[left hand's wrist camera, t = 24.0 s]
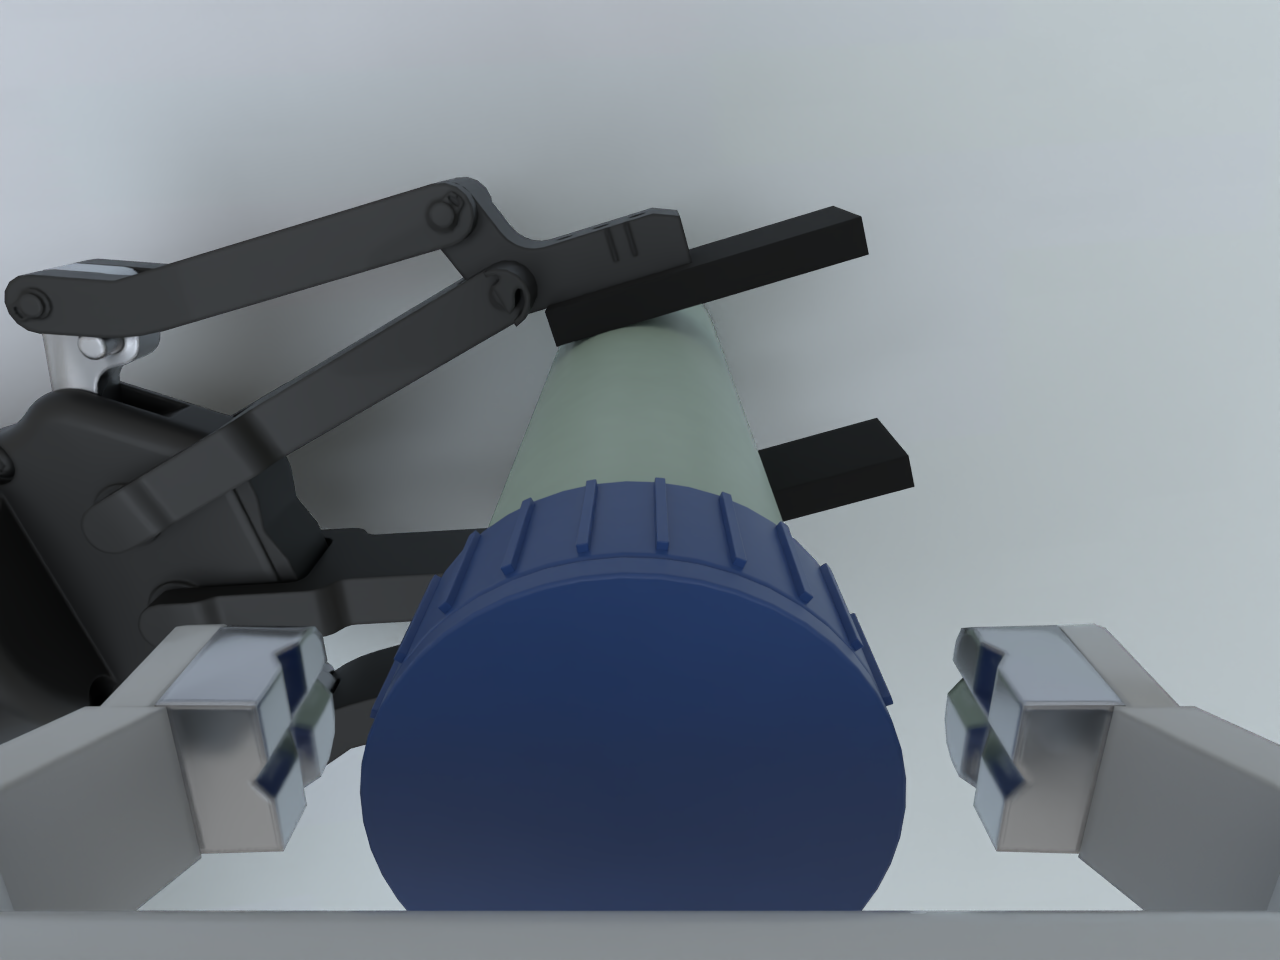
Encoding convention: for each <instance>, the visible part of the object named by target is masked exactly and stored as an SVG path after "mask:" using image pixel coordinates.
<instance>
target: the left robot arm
mask: <svg viewBox="0 0 1280 960" xmlns="http://www.w3.org/2000/svg"><path fill="white" fill-rule="evenodd" d="M326 661H327V656H326V651H325V646H324V641H323V635H322V634H321V633H320V632H319V630H318V629H317V628H316V627H315V626H266V625H228V626H227V625H225V624H202V625H183V626H178V627H175V628H174V629H173V630H172V631H171V632H170V634H169V635H168V636H167V637H166V638H165V639H164V640H163V641H162V642H161V643H160V644H159V645H158V646H157V647H156V648H155V649H154V650H153V651H152V652H151V653H150V655H149V656H148V657H147V658H146V659H145V660H144V661H143V662H142V663H141V664H140V665H139V666H138V667H137V668H136V669H135V670H134V671H133V672H132V673H131V674H130V676H129V677H128V678H127V679H126V680H125V681H124V682H123V683H122V684H121V685H120V686H119V687H118V688H117V689H116V690H115V691H114V692H113V693H112V694H111V695H110V697H109V698H108V699H107V700H106V701H105V702H104V703H103V704H102V705H101V706H88V707H83V708H81V709H79V710H76V711H74V712H72V713H70V714H68V715H65V716H63V717H61V718H59V719H57V720H54V721H52V722H50V723H48V724H45V725H43V726H41V727H39V728H37V729H34V730H32V731H30V732H28V733H26V734H23V735H21V736H19V737H17V738H14V739H12V740H10V741H8V742H6V743H3V744H1V745H0V960H1280V745H1279V744H1276V743H1274V742H1272V741H1270V740H1268V739H1265V738H1263V737H1261V736H1259V735H1257V734H1254V733H1252V732H1250V731H1248V730H1245V729H1243V728H1241V727H1239V726H1237V725H1234V724H1232V723H1230V722H1228V721H1226V720H1223V719H1221V718H1219V717H1217V716H1215V715H1212V714H1210V713H1208V712H1206V711H1204V710H1201V709H1199V708H1197V707H1193V706H1179V705H1178V704H1177V703H1176V702H1175V701H1174V700H1173V699H1172V698H1171V696H1170V695H1169V694H1168V693H1167V692H1166V691H1165V690H1164V689H1163V688H1162V687H1161V686H1160V685H1159V684H1158V683H1157V682H1156V681H1155V680H1154V679H1153V678H1152V676H1151V675H1150V674H1149V673H1148V672H1147V671H1146V670H1145V669H1144V668H1143V667H1142V666H1141V665H1140V664H1139V663H1138V662H1137V661H1136V660H1135V659H1134V658H1133V656H1132V655H1131V654H1130V653H1129V652H1128V651H1127V650H1126V649H1125V648H1124V647H1123V646H1122V645H1121V644H1120V643H1119V642H1118V641H1117V640H1116V639H1115V638H1114V636H1113V635H1112V634H1111V633H1110V632H1109V631H1108V630H1107V629H1106V628H1104V627H1102V626H1099V625H1096V624H1076V625H1044V626H1004V627H969V628H961V631H960V633H959V635H958V637H957V640H956V644H955V650H954V656H953V661H954V663H955V665H956V667H957V668H958V670H959V672H960V674H961V675H962V677H963V678H962V679H961V680H960V681H959V682H958V683H957V684H956V685H955V686H954V688H953V689H952V690H951V691H950V692H949V693H948V695H947V703H946V712H945V729H946V741H947V746H948V750H949V753H950V757H951V760H952V763H953V765H954V767H955V769H956V771H957V773H958V775H959V777H961V778H962V779H963V780H965V781H966V782H968V783H969V784H971V785H972V786H974V787H975V788H976V792H975V799H974V805H973V806H974V808H975V810H976V812H977V814H978V816H979V818H980V819H981V821H982V823H983V825H984V827H985V829H986V831H987V833H988V835H989V837H990V839H991V841H992V843H993V845H994V847H995V849H996V851H1004V852H1040V853H1077V854H1079V858H1080V859H1081V860H1082V861H1084V862H1085V863H1086V864H1087V865H1089V866H1090V867H1091V868H1092V869H1094V870H1095V871H1096V872H1097V873H1099V874H1100V875H1101V876H1102V877H1104V878H1105V879H1106V880H1107V881H1108V882H1110V883H1111V884H1112V885H1113V886H1115V887H1116V888H1117V889H1118V890H1120V891H1121V892H1122V893H1123V894H1125V895H1126V896H1127V897H1128V898H1130V899H1131V900H1132V901H1133V902H1134V903H1136V904H1137V905H1138V906H1139V907H1141V908H1142V909H1143V910H1144V911H136V910H137V909H138V908H140V907H141V906H142V905H143V904H145V903H146V902H147V901H148V900H150V899H151V898H152V897H153V896H155V895H156V894H157V893H158V892H159V891H161V890H162V889H163V888H164V887H166V886H167V885H168V884H169V883H171V882H172V881H173V880H174V879H176V878H177V877H178V876H179V875H181V874H182V873H183V872H184V871H186V870H187V869H188V868H189V867H190V866H192V865H193V864H194V863H195V862H197V861H198V860H199V859H200V858H201V854H203V853H238V852H274V851H284V849H285V847H286V845H287V843H288V841H289V839H290V837H291V835H292V833H293V831H294V829H295V827H296V826H297V824H298V822H299V820H300V818H301V816H302V814H303V812H304V810H305V808H306V806H307V805H306V799H305V792H304V788H305V787H306V786H308V785H309V784H311V783H312V782H314V781H315V780H317V779H318V778H319V777H321V775H322V773H323V771H324V769H325V767H326V765H327V762H328V760H329V758H330V753H331V749H332V744H333V739H334V734H335V709H334V702H333V695H332V693H331V692H330V691H329V690H328V689H327V688H326V686H325V685H324V684H323V683H322V682H321V681H320V680H319V679H318V678H317V677H318V675H319V674H320V672H321V670H322V668H323V667H324V665H325V663H326Z"/></svg>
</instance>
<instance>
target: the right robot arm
mask: <svg viewBox="0 0 1280 960" xmlns="http://www.w3.org/2000/svg"><path fill="white" fill-rule="evenodd" d="M439 249H441V250H442V251H443V253H444V254H445V255H446V256H447V258H448V259H449V260H450V261H451V262H452V264H453V265H454V266H455V267H456V269H457V270H458V271H459V272H460V274H461V275H462V276H463V277H464V278H462V279H460V280H459V281H457V282H455V283H454V284H452V285H450V286H449V287H447V288H445V289H444V290H442V291H440V292H439V293H437V294H435V295H434V296H432V297H430V298H429V299H427V300H425V301H424V302H422V303H420V304H419V305H417V306H415V307H414V308H412V309H410V310H409V311H407V312H405V313H404V314H402V315H400V316H399V317H397V318H395V319H394V320H392V321H390V322H389V323H387V324H385V325H384V326H382V327H380V328H379V329H377V330H375V331H374V332H372V333H370V334H369V335H367V336H365V337H364V338H362V339H360V340H359V341H357V342H355V343H354V344H352V345H350V346H349V347H347V348H345V349H344V350H342V351H340V352H339V353H337V354H335V355H334V356H332V357H330V358H328V359H327V360H325V361H323V362H322V363H320V364H318V365H317V366H315V367H313V368H312V369H310V370H308V371H307V372H305V373H303V374H302V375H300V376H298V377H297V378H295V379H293V380H292V381H290V382H288V383H286V384H284V385H282V386H280V387H279V388H277V389H275V390H274V391H272V392H270V393H269V394H267V395H265V396H264V397H262V398H260V399H259V400H257V401H255V402H254V403H252V404H250V405H249V406H247V407H245V408H244V409H242V410H240V411H239V412H237V413H235V414H234V415H232V416H229V415H226V414H223V413H219V412H216V411H213V410H210V409H207V408H204V407H200V406H197V405H194V404H191V403H188V402H185V401H181V400H178V399H175V398H172V397H169V396H166V395H162V394H159V393H156V392H153V391H150V390H147V389H143V388H140V387H137V386H134V385H131V384H128V383H125V382H121V381H120V371H121V368H122V366H123V365H126V364H128V363H130V362H132V361H135V360H137V359H139V358H141V357H144V356H146V355H148V354H150V353H151V352H153V351H154V350H155V349H156V348H157V346H158V344H159V341H160V332H162V331H165V330H169V329H172V328H175V327H179V326H182V325H186V324H189V323H192V322H196V321H199V320H202V319H206V318H209V317H213V316H216V315H219V314H223V313H226V312H229V311H233V310H236V309H240V308H243V307H246V306H250V305H253V304H256V303H260V302H263V301H267V300H270V299H273V298H277V297H280V296H283V295H287V294H290V293H294V292H297V291H300V290H304V289H307V288H310V287H314V286H317V285H321V284H324V283H327V282H331V281H334V280H337V279H341V278H344V277H348V276H351V275H354V274H358V273H361V272H364V271H368V270H371V269H375V268H378V267H381V266H385V265H388V264H391V263H395V262H398V261H402V260H405V259H408V258H412V257H415V256H419V255H422V254H425V253H429V252H432V251H435V250H439ZM868 254H869V253H868V248H867V243H866V238H865V233H864V228H863V222H862V217H861V216H859V215H856V214H853V213H851V212H848V211H845V210H843V209H840V208H837V207H835V206H831V207H828V208H824V209H821V210H818V211H815V212H811V213H808V214H805V215H801V216H798V217H795V218H791V219H788V220H785V221H782V222H778V223H775V224H772V225H768V226H765V227H762V228H759V229H755V230H752V231H749V232H745V233H742V234H739V235H735V236H732V237H729V238H726V239H722V240H719V241H716V242H712V243H709V244H706V245H702V246H699V247H696V248H693V249H688V245H687V241H686V237H685V234H684V230H683V226H682V223H681V219H680V216H679V213H678V211H677V210H669V209H658V208H650V209H647V210H644V211H641V212H637V213H634V214H631V215H628V216H625V217H621V218H618V219H615V220H612V221H609V222H605V223H602V224H599V225H595V226H592V227H589V228H586V229H583V230H579V231H576V232H573V233H570V234H566V235H563V236H560V237H557V238H554V239H550V240H544V241H537V240H531V239H528V238H525V237H523V236H522V235H520V234H519V233H517V232H516V231H515V230H514V229H513V228H512V227H511V226H510V225H509V223H508V222H507V221H506V219H505V218H504V217H503V216H502V214H501V213H500V212H499V210H498V209H497V208H496V206H495V205H494V204H493V203H492V198H491V196H490V194H489V192H488V191H487V189H486V187H484V186H483V185H482V184H481V183H480V182H479V181H477V180H474V179H471V178H468V177H462V178H454V179H450V180H446V181H442V182H438V183H434V184H430V185H427V186H424V187H420V188H417V189H414V190H410V191H407V192H404V193H401V194H397V195H394V196H391V197H387V198H384V199H381V200H378V201H374V202H371V203H368V204H364V205H361V206H358V207H355V208H351V209H348V210H345V211H341V212H338V213H335V214H332V215H328V216H325V217H322V218H318V219H315V220H312V221H309V222H305V223H302V224H299V225H295V226H292V227H289V228H286V229H282V230H279V231H276V232H272V233H269V234H266V235H263V236H259V237H256V238H253V239H249V240H246V241H243V242H240V243H236V244H233V245H230V246H226V247H223V248H220V249H217V250H213V251H210V252H207V253H203V254H200V255H197V256H194V257H190V258H187V259H184V260H180V261H177V262H174V263H171V264H160V263H147V262H134V261H120V260H107V259H92V260H86V261H82V262H77V263H73V264H68V265H63V266H59V267H55V268H50V269H46V270H43V271H38V272H34V273H29V274H25V275H21V276H18V277H16V278H15V279H13V280H12V281H10V282H9V284H8V286H7V288H6V290H5V304H6V307H7V310H8V312H9V314H10V315H11V317H12V318H13V319H14V320H15V321H16V323H17V324H19V325H20V326H22V327H23V328H25V329H26V330H28V331H32V332H36V333H39V334H42V335H43V340H44V346H45V352H46V357H47V363H48V369H49V374H50V380H51V386H52V392H50V393H47V394H46V395H44V396H42V397H41V398H39V399H38V400H37V401H35V402H34V403H33V404H32V406H31V407H30V408H29V409H28V411H27V412H26V414H25V415H24V417H23V418H22V419H21V420H20V421H19V422H18V423H17V424H14V425H11V426H8V427H4V428H1V429H0V745H1V744H3V743H6V742H8V741H10V740H12V739H14V738H17V737H19V736H21V735H23V734H26V733H28V732H30V731H32V730H34V729H37V728H39V727H41V726H43V725H45V724H48V723H50V722H52V721H54V720H57V719H59V718H61V717H63V716H65V715H68V714H70V713H72V712H74V711H76V710H79V709H81V708H83V707H88V706H101V705H102V704H103V703H104V702H105V701H106V700H107V699H108V698H109V697H110V695H111V694H112V693H113V692H114V691H115V690H116V689H117V688H118V687H119V686H120V685H121V684H122V683H123V682H124V681H125V680H126V679H127V678H128V677H129V676H130V674H131V673H132V672H133V671H134V670H135V669H136V668H137V667H138V666H139V665H140V664H141V663H142V662H143V661H144V660H145V659H146V658H147V657H148V656H149V655H150V653H151V652H152V651H153V650H154V649H155V648H156V647H157V646H158V645H159V644H160V643H161V642H162V641H163V640H164V639H165V638H166V637H167V636H168V635H169V634H170V632H171V631H172V630H173V629H174V628H175V627H178V626H183V625H202V624H225V625H227V626H228V625H266V626H315V627H316V628H317V629H318V630H319V632H320V633H321V634H322V635H323V637H324V636H328V635H331V634H334V633H336V632H338V631H339V630H341V629H343V628H345V627H347V626H350V625H356V624H373V623H391V622H409V621H412V619H413V617H414V615H415V613H416V610H417V608H418V606H419V604H420V602H421V600H422V598H423V596H424V594H425V592H426V589H427V587H428V585H429V583H430V581H431V579H432V578H433V576H434V575H437V576H439V577H442V576H443V574H444V572H445V571H446V570H447V569H448V567H449V566H450V565H451V564H452V562H453V561H454V560H455V559H456V558H457V556H458V555H459V554H460V553H461V552H462V550H463V549H464V546H465V544H466V542H467V539H468V537H469V535H470V534H472V533H473V532H474V531H475V530H476V531H477V532H478V533H479V534H481V533H482V532H483V531H485V530H486V529H488V528H482V529H465V530H448V531H430V532H413V533H396V534H379V535H371V534H368V533H367V532H366V531H365V530H364V529H360V528H347V529H330V530H321V529H320V527H319V525H318V523H317V522H316V520H315V519H314V518H313V517H312V516H311V514H310V513H309V512H308V511H307V509H306V508H305V507H304V506H303V505H302V503H301V502H300V501H299V500H298V498H297V496H296V493H295V487H294V482H293V476H292V471H291V466H290V464H289V462H288V460H287V458H286V455H288V454H290V453H291V452H293V451H295V450H297V449H298V448H300V447H302V446H303V445H305V444H307V443H309V442H310V441H312V440H314V439H316V438H317V437H319V436H321V435H322V434H324V433H326V432H328V431H329V430H331V429H333V428H335V427H336V426H338V425H340V424H341V423H343V422H345V421H347V420H348V419H350V418H352V417H353V416H355V415H357V414H359V413H360V412H362V411H364V410H366V409H367V408H369V407H371V406H372V405H374V404H376V403H378V402H379V401H381V400H383V399H385V398H386V397H388V396H390V395H391V394H393V393H395V392H397V391H398V390H400V389H402V388H403V387H405V386H407V385H409V384H410V383H412V382H414V381H416V380H417V379H419V378H421V377H422V376H424V375H426V374H428V373H429V372H431V371H433V370H434V369H436V368H438V367H440V366H441V365H443V364H445V363H447V362H448V361H450V360H452V359H453V358H455V357H457V356H459V355H460V354H462V353H464V352H466V351H467V350H469V349H471V348H472V347H474V346H476V345H478V344H479V343H481V342H483V341H484V340H486V339H488V338H490V337H491V336H493V335H495V334H497V333H498V332H500V331H502V330H503V329H505V328H507V327H509V326H510V325H512V324H515V325H516V327H517V326H518V325H519V324H520V323H521V322H522V321H523V320H524V319H525V318H526V317H527V315H528V314H530V313H533V312H536V311H540V310H543V309H546V308H547V309H546V311H545V313H546V316H547V319H548V322H549V325H550V328H551V331H552V334H553V337H554V340H555V343H556V346H557V347H558V346H561V345H565V344H568V343H571V342H575V341H578V340H581V339H585V338H588V337H592V336H595V335H598V334H602V333H605V332H608V331H612V330H615V329H619V328H622V327H625V326H629V325H632V324H635V323H639V322H642V321H646V320H649V319H652V318H656V317H659V316H662V315H666V314H669V313H673V312H676V311H679V310H683V309H686V308H689V307H693V306H696V305H700V304H703V303H706V302H710V301H713V300H716V299H720V298H723V297H727V296H730V295H733V294H737V293H740V292H743V291H747V290H750V289H754V288H757V287H760V286H764V285H767V284H770V283H774V282H777V281H781V280H784V279H787V278H791V277H794V276H797V275H801V274H804V273H808V272H811V271H814V270H818V269H821V268H824V267H828V266H831V265H835V264H838V263H841V262H845V261H848V260H851V259H855V258H858V257H862V256H865V255H868ZM758 453H759V456H760V458H761V461H762V464H763V467H764V470H765V473H766V475H767V478H768V481H769V484H770V487H771V489H772V492H773V495H774V498H775V501H776V504H777V506H778V509H779V512H780V515H781V518H782V521H787V520H791V519H795V518H798V517H802V516H806V515H810V514H813V513H817V512H821V511H825V510H828V509H832V508H836V507H840V506H843V505H847V504H851V503H855V502H858V501H862V500H866V499H870V498H874V497H877V496H881V495H885V494H889V493H892V492H896V491H900V490H904V489H907V488H911V487H914V482H913V476H912V471H911V466H910V461H909V456H908V455H907V453H906V452H905V451H904V450H903V449H902V447H901V446H900V445H899V444H898V443H897V441H896V440H895V439H894V438H893V437H892V435H891V434H890V433H889V432H888V431H887V429H886V428H885V427H884V426H883V425H882V423H881V422H880V421H879V420H878V419H877V418H875V419H871V420H867V421H864V422H860V423H857V424H853V425H849V426H846V427H842V428H838V429H835V430H831V431H827V432H824V433H820V434H817V435H813V436H809V437H806V438H802V439H798V440H795V441H791V442H788V443H784V444H780V445H777V446H773V447H769V448H766V449H762V450H758ZM399 646H400V645H397V646H393V647H390V648H386V649H383V650H379V651H376V652H373V653H370V654H367V655H364V656H361V657H359V658H357V659H355V660H352V661H350V662H348V663H346V664H345V665H343V666H341V667H340V668H338V669H337V670H335V671H334V668H333V667H332V665H330V664H329V663H328V662H326V663H325V665H324V667H323V668H322V670H321V672H320V674H319V675H318V677H317V678H318V679H319V680H320V681H321V682H322V683H323V684H324V685H325V686H326V688H327V689H328V690H329V691H330V692H331V693H332V695H333V702H334V709H335V734H334V739H333V744H332V749H331V753H330V758H329V760H328V762H327V765H328V764H329V763H330V762H332V761H333V760H335V759H336V758H338V757H339V756H341V755H342V754H344V753H345V752H346V751H348V750H349V749H351V748H355V747H358V746H362V745H366V742H367V738H368V734H369V731H370V729H371V726H372V724H373V722H374V719H373V718H370V714H371V710H372V707H373V705H374V703H375V701H376V699H377V697H378V695H379V692H380V690H381V688H382V686H383V684H384V682H385V680H386V678H387V675H388V673H389V671H390V669H391V667H392V665H393V663H394V661H395V660H394V657H395V655H396V653H397V650H398V648H399Z"/></svg>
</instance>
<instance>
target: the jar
mask: <svg viewBox="0 0 1280 960" xmlns="http://www.w3.org/2000/svg"><path fill="white" fill-rule="evenodd" d="M656 477H657V478H665V482H666V483H667V484H673V485H680V486H686V487H691V488H695V489H698V490H702V491H705V492H709V493H712V494H716V495H719V496H720V494H721V492H725V493H728V494H731V496H732V501H734V502H736V503H738V504H741V505H743V506H745V507H748V508H749V509H751V510H753V511H754V512H756V513H758V514H760V515H761V516H763V517H765V518H766V519H768V520H770V521H772V522H773V523H775V524H776V525H777V524H778V523H779V522H780V521H782V518H781V515H780V512H779V509H778V506H777V504H776V501H775V498H774V495H773V492H772V489H771V487H770V484H769V481H768V478H767V475H766V473H765V470H764V467H763V464H762V461H761V458H760V456H759V453H758V450H757V447H756V444H755V442H754V439H753V436H752V433H751V430H750V427H749V425H748V422H747V419H746V416H745V413H744V411H743V408H742V405H741V402H740V399H739V396H738V394H737V391H736V388H735V385H734V382H733V380H732V377H731V374H730V371H729V368H728V365H727V363H726V360H725V357H724V354H723V351H722V349H721V346H720V343H719V340H718V337H717V334H716V332H715V329H714V326H713V323H712V321H711V318H710V316H709V314H708V312H707V311H706V309H705V308H704V306H703V304H700V305H696V306H693V307H689V308H686V309H683V310H679V311H676V312H673V313H669V314H666V315H662V316H659V317H656V318H652V319H649V320H646V321H642V322H639V323H635V324H632V325H629V326H625V327H622V328H619V329H615V330H612V331H608V332H605V333H602V334H598V335H595V336H592V337H588V338H585V339H581V340H578V341H575V342H571V343H568V344H565V345H561V346H560V347H559V349H558V352H557V354H556V357H555V359H554V362H553V364H552V367H551V369H550V372H549V374H548V377H547V380H546V382H545V385H544V387H543V390H542V392H541V395H540V397H539V400H538V402H537V405H536V408H535V410H534V413H533V415H532V418H531V420H530V423H529V425H528V428H527V430H526V433H525V436H524V438H523V441H522V443H521V446H520V448H519V451H518V453H517V456H516V458H515V461H514V464H513V466H512V469H511V471H510V474H509V476H508V479H507V481H506V484H505V486H504V489H503V492H502V494H501V497H500V499H499V502H498V504H497V507H496V509H495V512H494V514H493V517H492V520H491V522H490V525H489V527H490V526H492V525H493V524H495V523H496V522H498V521H499V520H501V519H502V518H504V517H505V516H507V515H508V514H510V513H512V512H514V511H516V510H518V509H520V507H521V504H522V501H523V500H526V499H528V498H530V497H531V498H532V500H533V501H536V500H539V499H542V498H545V497H548V496H550V495H553V494H556V493H559V492H562V491H565V490H570V489H574V488H579V487H583V486H586V481H588V480H594V479H596V480H597V484H601V483H612V482H623V481H636V482H655V478H656ZM782 522H783V521H782ZM489 527H488V528H489Z"/></svg>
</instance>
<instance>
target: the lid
mask: <svg viewBox="0 0 1280 960" xmlns="http://www.w3.org/2000/svg"><path fill="white" fill-rule="evenodd" d="M394 660H395V661H394V663H393V665H392V667H391V669H390V671H389V673H388V675H387V678H386V680H385V682H384V684H383V686H382V688H381V690H380V692H379V695H378V697H377V699H376V701H375V703H374V705H373V707H372V710H371V714H370V718H373V719H374V722H373V724H372V726H371V729H370V731H369V734H368V738H367V742H366V746H365V751H364V755H363V760H362V766H361V784H360V796H361V806H362V815H363V823H364V826H365V830H366V834H367V837H368V841H369V844H370V848H371V851H372V853H373V855H374V858H375V860H376V862H377V864H378V866H379V869H380V871H381V873H382V875H383V877H384V879H385V880H386V882H387V883H388V885H389V886H390V888H391V890H392V891H393V893H394V894H395V896H396V897H397V899H398V900H399V902H400V903H401V904H402V905H403V906H404V907H405V909H406V910H407V911H862V910H863V908H864V907H865V905H866V904H867V903H868V901H869V900H870V899H871V897H872V896H873V894H874V893H875V892H876V890H877V889H878V887H879V885H880V883H881V881H882V880H883V878H884V876H885V874H886V872H887V870H888V868H889V866H890V864H891V862H892V859H893V856H894V853H895V850H896V848H897V845H898V842H899V839H900V835H901V830H902V824H903V819H904V813H905V808H906V775H905V769H904V762H903V756H902V749H901V746H900V743H899V740H898V737H897V734H896V731H895V728H894V725H893V722H892V720H891V717H890V715H889V712H888V710H887V708H886V706H888V705H891V704H893V701H892V698H891V695H890V693H889V691H888V688H887V686H886V684H885V681H884V679H883V677H882V674H881V672H880V670H879V668H878V665H877V663H876V661H875V658H874V656H873V654H872V652H871V649H870V647H869V645H868V642H867V640H866V638H865V636H864V633H863V631H862V629H861V626H860V624H859V622H858V619H857V617H856V615H855V613H853V614H850V613H849V611H848V608H847V606H846V604H845V601H844V599H843V597H842V594H841V592H840V590H839V587H838V585H837V583H836V580H835V578H834V576H833V573H832V571H831V569H830V568H829V566H828V565H827V564H826V563H825V564H823V565H822V566H819V564H818V563H817V562H816V560H815V559H814V558H813V557H812V556H811V555H810V554H809V553H808V552H807V551H806V550H805V549H804V548H803V547H802V546H801V545H800V544H799V543H798V542H797V541H796V540H795V539H794V538H792V536H791V533H790V531H789V528H788V526H787V525H786V524H784V523H783V522H782V521H780V522H779V523H778V524H777V525H776V524H775V523H773V522H772V521H770V520H768V519H766V518H765V517H763V516H761V515H760V514H758V513H756V512H754V511H753V510H751V509H749V508H748V507H745V506H743V505H741V504H738V503H736V502H734V501H732V496H731V494H728V493H725V492H721V494H720V496H719V495H716V494H712V493H709V492H705V491H702V490H698V489H695V488H691V487H686V486H680V485H673V484H667V483H666V482H665V478H657V477H656V478H655V482H636V481H623V482H612V483H601V484H597V480H596V479H594V480H588V481H586V486H583V487H579V488H574V489H570V490H565V491H562V492H559V493H556V494H553V495H550V496H548V497H545V498H542V499H539V500H536V501H533V500H532V498H531V497H530V498H528V499H526V500H523V501H522V504H521V507H520V509H518V510H516V511H514V512H512V513H510V514H508V515H507V516H505V517H504V518H502V519H501V520H499V521H498V522H496V523H495V524H493V525H492V526H490V527H489V528H488V529H486V530H485V531H483V532H482V533H481V534H479V533H478V532H477V531H476V530H475V531H474V532H473V533H472V534H470V535H469V537H468V539H467V542H466V544H465V546H464V549H463V550H462V552H461V553H460V554H459V555H458V556H457V558H456V559H455V560H454V561H453V562H452V564H451V565H450V566H449V567H448V569H447V570H446V571H445V572H444V574H443V576H442V577H439V576H437V575H434V576H433V578H432V579H431V581H430V583H429V585H428V587H427V589H426V592H425V594H424V596H423V598H422V600H421V602H420V604H419V606H418V608H417V610H416V613H415V615H414V617H413V619H412V621H411V623H410V625H409V627H408V629H407V632H406V634H405V636H404V638H403V640H402V642H401V644H400V646H399V648H398V650H397V653H396V655H395V657H394Z"/></svg>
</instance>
